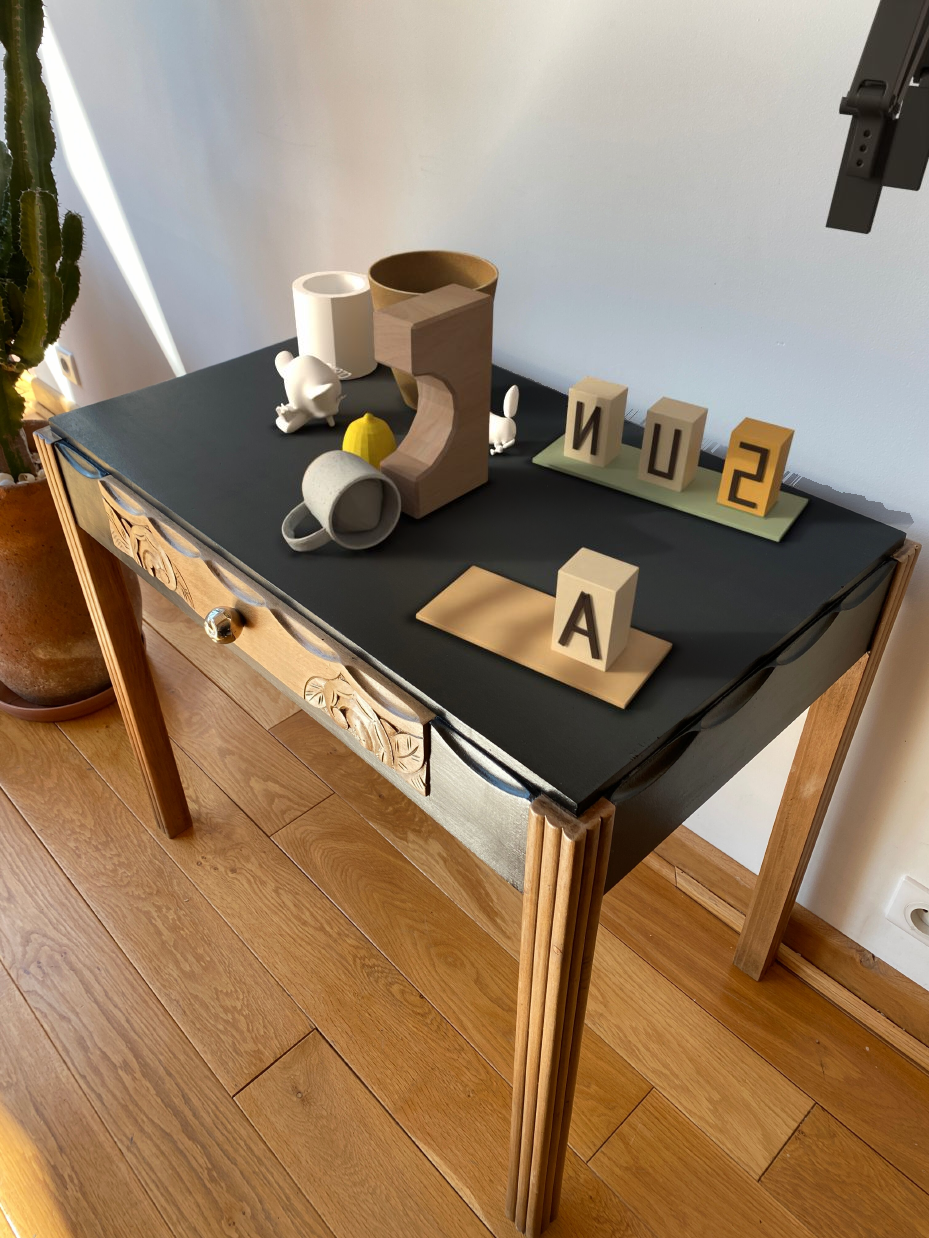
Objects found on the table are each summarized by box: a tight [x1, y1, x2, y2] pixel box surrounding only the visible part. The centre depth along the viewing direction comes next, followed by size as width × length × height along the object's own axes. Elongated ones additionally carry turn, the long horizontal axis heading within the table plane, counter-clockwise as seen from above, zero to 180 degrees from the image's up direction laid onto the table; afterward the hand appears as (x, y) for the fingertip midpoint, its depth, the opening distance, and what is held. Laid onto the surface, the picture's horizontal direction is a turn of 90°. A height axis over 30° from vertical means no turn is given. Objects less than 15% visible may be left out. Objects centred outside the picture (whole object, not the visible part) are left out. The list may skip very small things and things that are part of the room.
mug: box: [291, 270, 378, 381], centre depth 121 cm, size 14×10×11 cm
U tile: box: [637, 396, 709, 492], centre depth 97 cm, size 5×4×8 cm
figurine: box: [274, 350, 351, 434], centre depth 107 cm, size 12×8×10 cm
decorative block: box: [373, 284, 495, 520], centre depth 91 cm, size 11×6×20 cm, turn 136°
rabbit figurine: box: [489, 384, 520, 456], centre depth 105 cm, size 6×4×8 cm
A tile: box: [551, 547, 640, 672], centre depth 74 cm, size 5×4×8 cm
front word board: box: [415, 565, 673, 710], centre depth 79 cm, size 20×9×1 cm, turn 56°
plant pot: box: [366, 249, 500, 411], centre depth 110 cm, size 15×15×16 cm
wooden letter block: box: [564, 375, 629, 468], centre depth 100 cm, size 5×4×8 cm
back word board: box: [532, 432, 809, 543], centre depth 99 cm, size 28×9×1 cm, turn 56°
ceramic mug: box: [281, 449, 402, 552], centre depth 88 cm, size 11×8×8 cm
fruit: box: [342, 411, 397, 471], centre depth 96 cm, size 6×6×8 cm
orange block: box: [717, 416, 796, 517], centre depth 93 cm, size 5×4×8 cm
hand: (875, 207), depth 64 cm, fingers open, 13 cm apart
